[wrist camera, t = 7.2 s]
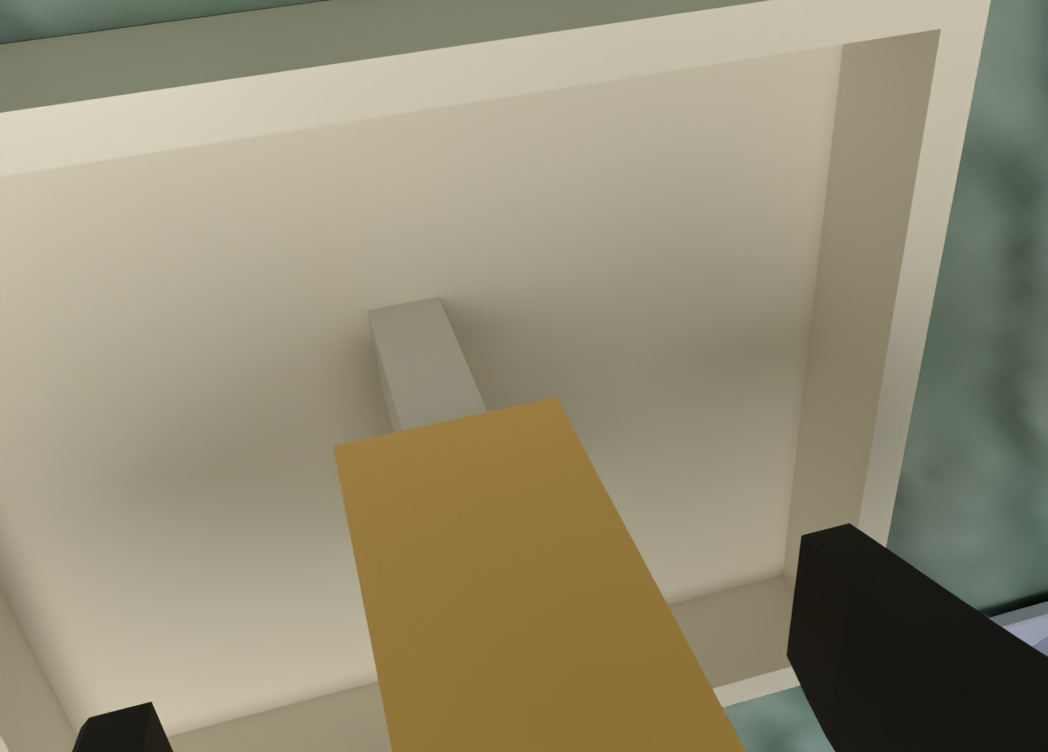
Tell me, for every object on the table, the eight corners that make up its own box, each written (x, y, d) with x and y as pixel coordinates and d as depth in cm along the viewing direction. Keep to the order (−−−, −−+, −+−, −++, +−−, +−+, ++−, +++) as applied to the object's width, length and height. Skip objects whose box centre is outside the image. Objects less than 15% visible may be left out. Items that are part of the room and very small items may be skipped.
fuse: (493, 279, 14) (762, 781, 7) (515, 513, 17) (732, 1044, 10) (307, 315, 14) (418, 884, 7) (358, 551, 16) (476, 1135, 9)
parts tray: (871, -73, 13) (997, -33, 11) (793, 568, 20) (863, 667, 18) (-296, 83, 11) (-411, 173, 9) (65, 759, 18) (49, 899, 15)
